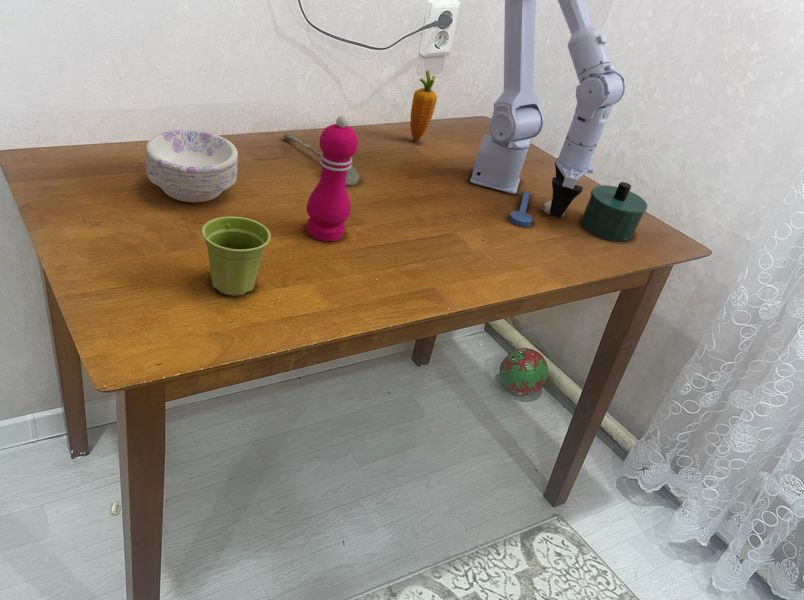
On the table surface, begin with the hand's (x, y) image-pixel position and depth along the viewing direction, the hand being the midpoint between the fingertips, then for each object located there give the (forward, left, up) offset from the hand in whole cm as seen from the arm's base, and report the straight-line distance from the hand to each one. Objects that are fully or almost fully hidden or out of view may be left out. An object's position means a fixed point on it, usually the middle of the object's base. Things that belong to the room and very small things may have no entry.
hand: (556, 207), depth 137 cm
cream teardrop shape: (0, 0, -2) cm, 2 cm away
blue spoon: (-6, -1, -2) cm, 6 cm away
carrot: (-32, +18, -2) cm, 37 cm away
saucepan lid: (+10, 0, +4) cm, 11 cm away
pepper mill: (-37, -31, -2) cm, 48 cm away
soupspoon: (-47, -5, -2) cm, 47 cm away
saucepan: (+10, 0, -2) cm, 10 cm away
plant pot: (-44, -53, -2) cm, 69 cm away
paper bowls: (-62, -30, -2) cm, 69 cm away
